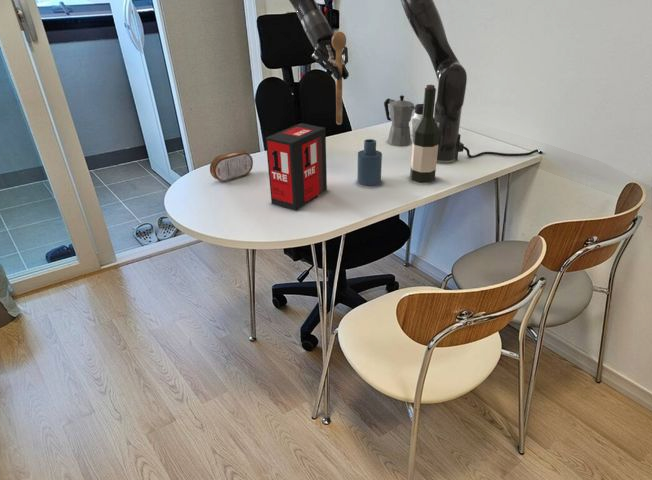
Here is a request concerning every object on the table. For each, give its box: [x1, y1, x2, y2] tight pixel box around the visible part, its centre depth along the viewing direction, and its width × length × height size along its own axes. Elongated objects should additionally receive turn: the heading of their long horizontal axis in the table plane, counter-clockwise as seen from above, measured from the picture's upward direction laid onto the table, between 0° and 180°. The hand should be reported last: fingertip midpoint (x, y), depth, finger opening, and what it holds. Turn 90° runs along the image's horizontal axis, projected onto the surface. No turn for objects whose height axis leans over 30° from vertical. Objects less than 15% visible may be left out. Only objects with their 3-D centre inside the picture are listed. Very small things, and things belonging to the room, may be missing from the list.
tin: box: [209, 149, 254, 182], centre depth 162 cm, size 15×3×8 cm, turn 135°
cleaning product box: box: [265, 122, 328, 211], centre depth 146 cm, size 16×9×20 cm, turn 150°
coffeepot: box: [383, 94, 416, 147], centre depth 192 cm, size 15×9×18 cm, turn 44°
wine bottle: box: [409, 84, 440, 184], centre depth 156 cm, size 8×8×30 cm
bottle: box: [356, 138, 383, 187], centre depth 158 cm, size 8×8×14 cm
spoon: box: [332, 31, 347, 126], centre depth 155 cm, size 2×5×28 cm, turn 132°
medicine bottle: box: [410, 102, 424, 137], centre depth 203 cm, size 7×7×12 cm
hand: (343, 78), depth 153 cm, fingers closed on spoon, 2 cm apart
